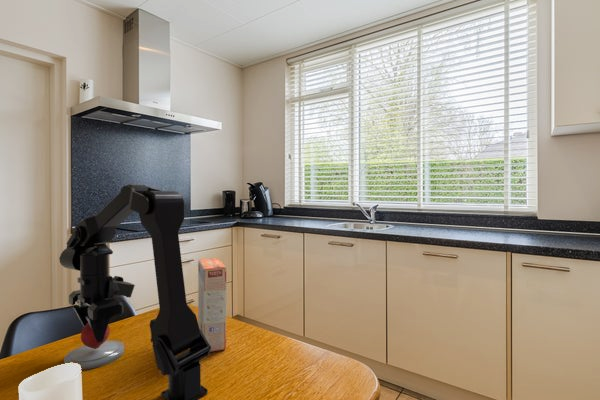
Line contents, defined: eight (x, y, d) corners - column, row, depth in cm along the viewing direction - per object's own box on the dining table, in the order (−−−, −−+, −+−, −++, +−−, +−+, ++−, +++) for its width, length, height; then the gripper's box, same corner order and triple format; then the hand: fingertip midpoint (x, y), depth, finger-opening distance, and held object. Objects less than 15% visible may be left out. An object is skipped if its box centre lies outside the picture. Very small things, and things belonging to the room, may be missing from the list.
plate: (132, 355, 77) (132, 348, 77) (73, 376, 68) (72, 369, 68) (113, 340, 85) (113, 335, 85) (57, 358, 76) (57, 351, 76)
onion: (95, 355, 73) (95, 320, 73) (74, 353, 74) (74, 319, 74) (115, 344, 78) (115, 311, 78) (95, 342, 80) (95, 310, 80)
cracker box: (227, 350, 79) (227, 266, 79) (202, 354, 77) (202, 268, 77) (219, 328, 92) (219, 256, 92) (197, 332, 90) (197, 258, 90)
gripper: (146, 272, 76) (147, 337, 76) (116, 262, 88) (116, 318, 88) (93, 281, 68) (94, 355, 68) (67, 269, 80) (68, 331, 80)
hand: (95, 337), depth 76 cm, fingers open, 6 cm apart
